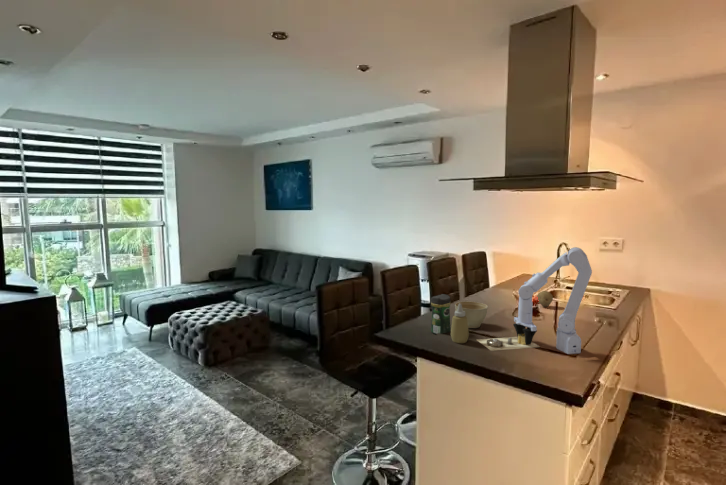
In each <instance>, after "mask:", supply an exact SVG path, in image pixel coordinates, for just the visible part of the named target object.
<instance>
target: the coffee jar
mask: <svg viewBox="0 0 726 485" xmlns="http://www.w3.org/2000/svg"><path fill="white" fill-rule="evenodd" d="M430 299H431V300H430V305H431V320H430V321H431V323H430V331H431V333H432V334H434V335H437V334H445V333H446V334H447V333H448V334H449V333H451V311H450V310H451V296H449V294H445V293H441V294H438V295H434V296H432V297H431V298H430Z"/></svg>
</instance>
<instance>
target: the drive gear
mask: <svg viewBox="0 0 726 485" xmlns="http://www.w3.org/2000/svg"><path fill="white" fill-rule="evenodd" d="M489 339H490V340H487V345H488V346H491V347H498V348H500V347H503V341H500V340H498V339H492V338H489Z"/></svg>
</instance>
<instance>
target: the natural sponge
mask: <svg viewBox="0 0 726 485" xmlns="http://www.w3.org/2000/svg"><path fill="white" fill-rule="evenodd" d="M537 297H538V300H539V302H537V303H538V304H539V305H541V306H542V307H543V308H547V307H549V306H550V305H551V304H552V302H553V301H554V300H553V299H554V297H553V294H552V293H551V292H550V291H547V290H542V291H539V292H538V293H537V295H536V298H537Z"/></svg>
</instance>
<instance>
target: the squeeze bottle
mask: <svg viewBox="0 0 726 485" xmlns="http://www.w3.org/2000/svg"><path fill="white" fill-rule="evenodd" d="M450 327H451V331H450V338H451V340H452V342H453V343H456V344H465V343H468V339H469V336H470V333H469V328H468V320H467V317H466V316H465V312H464V311H463V309H462V304H459V305H458V309H457V311H456V310H455V311H454V315H453V316H452V319H451V325H450Z"/></svg>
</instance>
